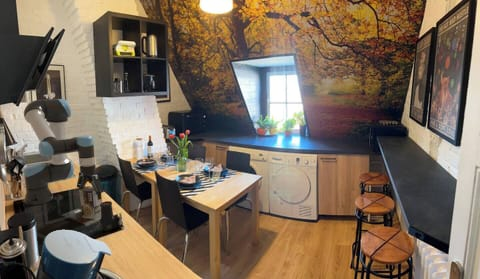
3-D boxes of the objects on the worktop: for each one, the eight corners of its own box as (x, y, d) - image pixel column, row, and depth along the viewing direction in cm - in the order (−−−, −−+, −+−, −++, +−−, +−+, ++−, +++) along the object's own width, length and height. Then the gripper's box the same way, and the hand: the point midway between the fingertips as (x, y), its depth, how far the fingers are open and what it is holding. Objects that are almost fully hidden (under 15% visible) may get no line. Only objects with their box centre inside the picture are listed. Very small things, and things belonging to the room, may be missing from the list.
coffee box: (104, 214, 166) (101, 187, 163) (95, 219, 160) (92, 191, 157) (90, 213, 168) (87, 185, 166) (81, 217, 162) (78, 189, 160)
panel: (60, 217, 166) (60, 215, 166) (81, 209, 176) (81, 207, 176) (86, 226, 154) (85, 224, 154) (106, 217, 165) (106, 215, 165)
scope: (121, 201, 151) (101, 207, 144) (123, 227, 153) (104, 234, 146) (114, 197, 156) (94, 203, 149) (116, 222, 159) (97, 229, 151)
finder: (69, 217, 163) (68, 211, 163) (78, 213, 168) (77, 208, 167) (75, 219, 160) (75, 213, 160) (84, 216, 165) (83, 210, 164)
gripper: (67, 163, 162) (71, 200, 166) (95, 169, 150) (99, 209, 153) (80, 160, 168) (84, 196, 172) (108, 166, 156) (112, 204, 160)
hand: (91, 202), depth 163 cm, fingers open, 13 cm apart
